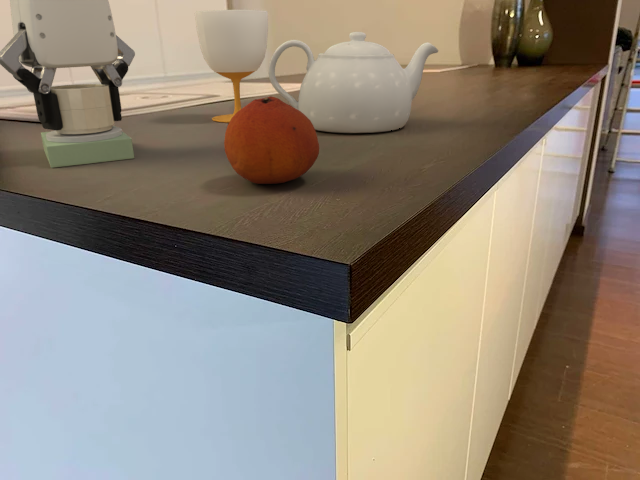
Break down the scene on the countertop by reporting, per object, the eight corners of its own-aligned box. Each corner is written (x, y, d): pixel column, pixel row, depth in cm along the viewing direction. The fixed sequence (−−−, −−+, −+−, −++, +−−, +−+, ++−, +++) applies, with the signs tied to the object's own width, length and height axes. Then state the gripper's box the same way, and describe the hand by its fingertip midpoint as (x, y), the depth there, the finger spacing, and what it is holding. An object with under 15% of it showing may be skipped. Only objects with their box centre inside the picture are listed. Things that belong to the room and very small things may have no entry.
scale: (44, 151, 68) (39, 127, 67) (117, 143, 73) (114, 121, 71) (50, 168, 59) (45, 141, 58) (134, 158, 64) (130, 132, 62)
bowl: (41, 134, 61) (32, 89, 59) (73, 125, 68) (65, 84, 66) (98, 134, 61) (90, 89, 59) (124, 125, 67) (118, 83, 65)
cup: (286, 117, 93) (282, 10, 87) (234, 126, 85) (226, 9, 79) (242, 112, 100) (235, 13, 94) (190, 120, 92) (179, 12, 86)
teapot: (347, 114, 95) (347, 32, 91) (436, 124, 83) (442, 30, 79) (267, 127, 83) (262, 33, 78) (358, 141, 71) (359, 31, 66)
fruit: (245, 199, 47) (238, 105, 44) (218, 177, 54) (211, 95, 51) (335, 186, 50) (335, 98, 47) (298, 167, 58) (296, 90, 55)
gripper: (106, -34, 66) (127, 113, 72) (-50, -49, 53) (-8, 132, 59) (144, -39, 62) (163, 117, 68) (-15, -57, 49) (27, 138, 55)
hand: (83, 123), depth 64 cm, fingers closed on bowl, 7 cm apart
